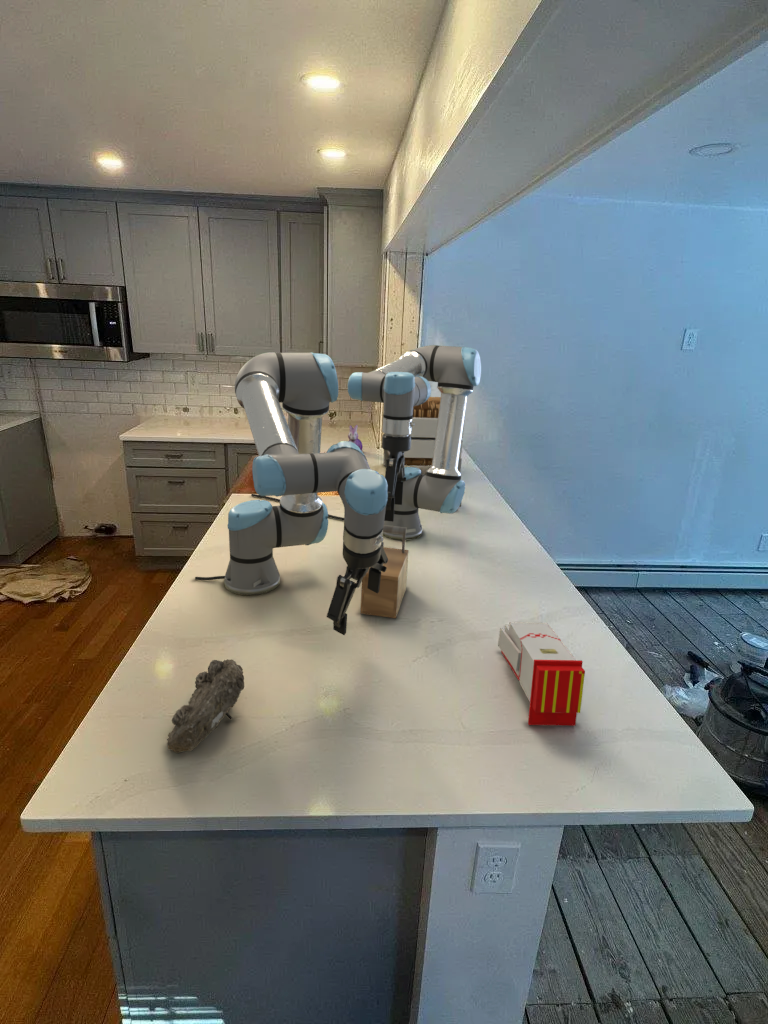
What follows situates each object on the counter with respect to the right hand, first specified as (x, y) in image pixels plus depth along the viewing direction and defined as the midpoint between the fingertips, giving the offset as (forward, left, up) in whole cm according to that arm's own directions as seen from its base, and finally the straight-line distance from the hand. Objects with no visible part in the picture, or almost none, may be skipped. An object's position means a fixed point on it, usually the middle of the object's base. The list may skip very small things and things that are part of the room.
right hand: (392, 512), depth 153 cm
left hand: (+21, -28, -11) cm, 37 cm away
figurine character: (-39, +68, -23) cm, 81 cm away
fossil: (+20, -62, -23) cm, 69 cm away
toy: (+51, -3, -23) cm, 56 cm away
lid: (+4, -5, -12) cm, 14 cm away
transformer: (-82, +91, -23) cm, 125 cm away
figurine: (-130, +89, -23) cm, 159 cm away
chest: (+4, -6, -23) cm, 24 cm away
